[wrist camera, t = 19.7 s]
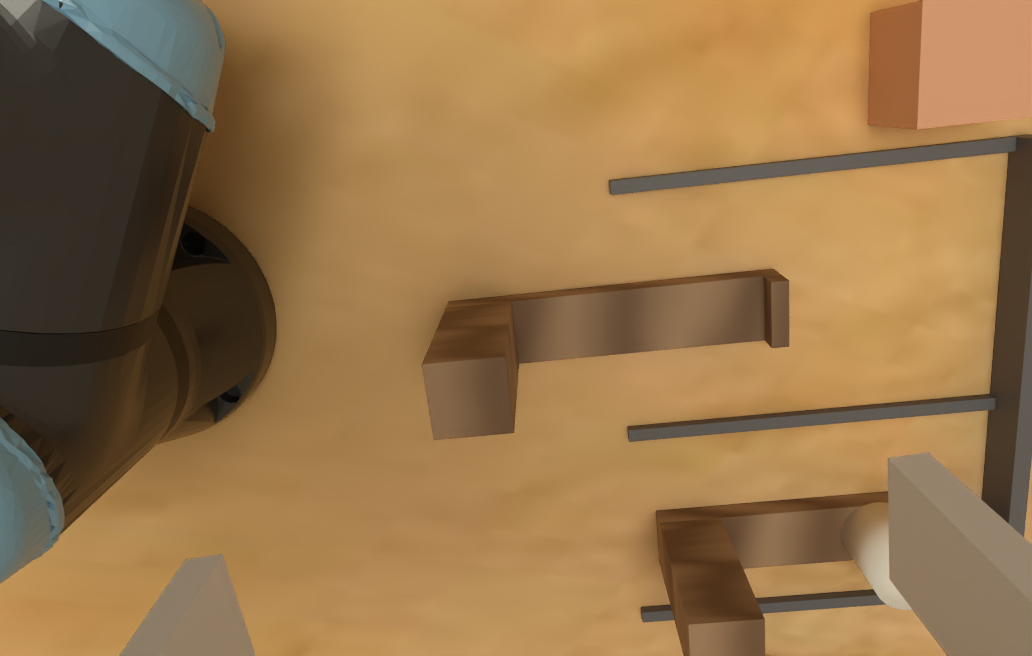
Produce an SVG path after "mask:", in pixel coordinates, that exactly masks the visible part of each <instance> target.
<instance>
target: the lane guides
mask: <svg viewBox="0 0 1032 656" xmlns="http://www.w3.org/2000/svg"><path fill="white" fill-rule="evenodd" d="M1005 152H1009V159H1008V171H1007V184H1006V197H1005V210H1004V223H1003V236H1002V249H1001V261H1000V274H999V287H998V300H997V313H996V326H995V339H994V351H993V364H992V377H991V390H990V394H986V395H975V396H964V397H953V398H942V399H930V400H919V401H908V402H897V403H886V404H875V405H864V406H852V407H841V408H830V409H819V410H808V411H797V412H785V413H774V414H763V415H752V416H741V417H730V418H719V419H707V420H696V421H685V422H674V423H663V424H652V425H640V426H629V427H628V438H629V442H633V441H644V440H655V439H667V438H678V437H689V436H701V435H712V434H723V433H734V432H746V431H757V430H768V429H780V428H791V427H802V426H814V425H825V424H836V423H847V422H859V421H870V420H881V419H893V418H904V417H915V416H927V415H938V414H949V413H961V412H972V411H983V410H989V416H988V429H987V441H986V454H985V467H984V480H983V493H982V501H984V502H985V503H986V504H987V505H988V506H989V507H990V508H991V509H993V510H994V511H995V512H996V513H997V514H998V515H999V516H1000V517H1002V518H1003V519H1004V520H1005V521H1006V522H1007V523H1008V524H1009V525H1011V526H1012V527H1013V528H1014V529H1015V530H1016V531H1017V532H1018V533H1020V534H1021V535H1022V536H1023V537H1024V530H1025V520H1026V510H1027V500H1028V489H1029V479H1030V469H1031V459H1032V135H1029V134H1028V135H1019V136H1009V137H1000V138H991V139H982V140H973V141H964V142H954V143H945V144H936V145H927V146H918V147H908V148H899V149H890V150H881V151H872V152H862V153H853V154H844V155H835V156H826V157H817V158H807V159H798V160H789V161H780V162H771V163H761V164H752V165H743V166H734V167H725V168H715V169H706V170H697V171H688V172H679V173H670V174H660V175H651V176H642V177H633V178H624V179H614V180H609V183H610V194H611V195H615V194H624V193H633V192H643V191H652V190H661V189H671V188H680V187H689V186H698V185H708V184H717V183H726V182H736V181H745V180H754V179H763V178H773V177H782V176H791V175H801V174H810V173H819V172H828V171H838V170H847V169H856V168H866V167H875V166H884V165H893V164H903V163H912V162H921V161H931V160H940V159H949V158H958V157H968V156H977V155H986V154H996V153H1005ZM756 600H757V603H758V605H759V607H760V610H761V612H762V613H775V612H789V611H802V610H816V609H829V608H842V607H856V606H869V605H883V604H885V603H884V602H883V601H882V600H881V599H880V598H879V597H878V595H877V594H876V592H875V591H874V590H862V591H849V592H836V593H823V594H809V595H796V596H783V597H770V598H756ZM641 615H642V621H643V622H654V621H668V620H674V616H673V612H672V608H671V605H664V606H651V607H641Z"/></svg>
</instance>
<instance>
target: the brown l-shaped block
mask: <svg viewBox="0 0 1032 656" xmlns="http://www.w3.org/2000/svg"><path fill="white" fill-rule="evenodd" d="M762 340H765V341H766V342H767V343H768V344H769V345H770V347H771V348H779V347H789V280H788V279H786V278H785V277H784V276H782V275H781V274H779V273H778V272H777V271H775V270H774V269H767V270H757V271H747V272H737V273H727V274H717V275H707V276H697V277H688V278H678V279H668V280H658V281H648V282H638V283H628V284H618V285H608V286H598V287H588V288H578V289H568V290H558V291H549V292H539V293H529V294H519V295H509V296H499V297H489V298H479V299H469V300H459V301H449V302H448V305H447V307H446V309H445V312H444V314H443V316H442V319H441V321H440V323H439V326H438V328H437V330H436V333H435V335H434V337H433V340H432V342H431V344H430V347H429V349H428V352H427V354H426V356H425V359H424V361H423V363H422V368H423V374H424V381H425V387H426V394H427V400H428V406H429V413H430V419H431V425H432V432H433V438H434V440H441V439H452V438H463V437H474V436H485V435H497V434H508V433H514V426H515V412H516V398H517V383H518V369H519V364H520V363H531V362H541V361H552V360H562V359H573V358H583V357H594V356H604V355H615V354H625V353H636V352H646V351H657V350H667V349H678V348H688V347H699V346H709V345H720V344H730V343H741V342H751V341H762Z"/></svg>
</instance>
